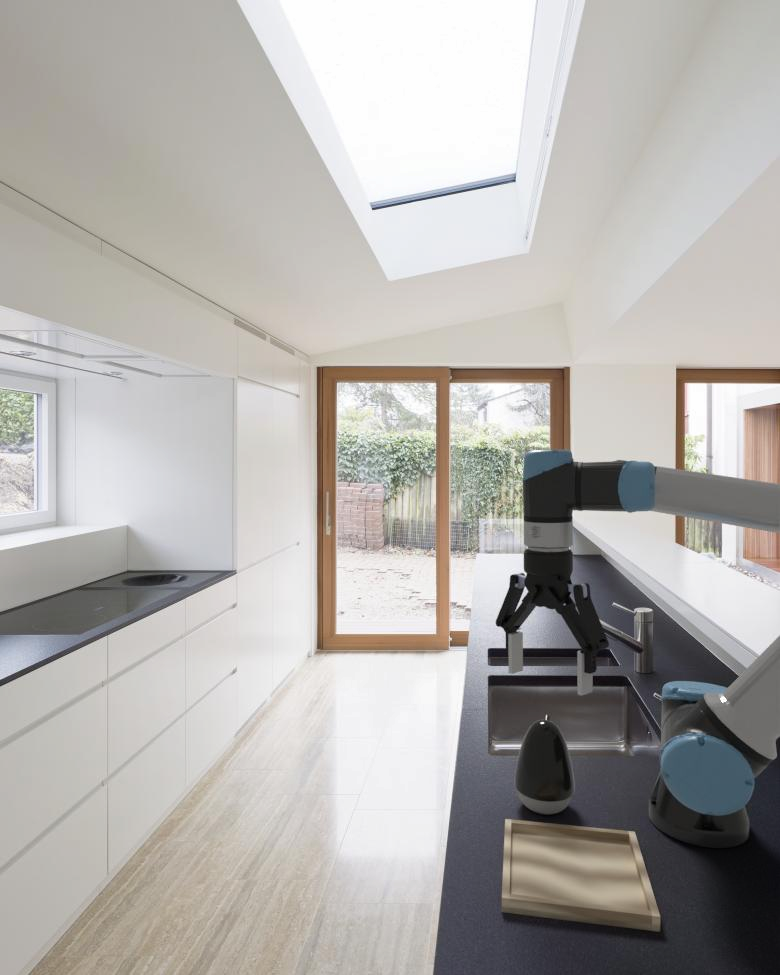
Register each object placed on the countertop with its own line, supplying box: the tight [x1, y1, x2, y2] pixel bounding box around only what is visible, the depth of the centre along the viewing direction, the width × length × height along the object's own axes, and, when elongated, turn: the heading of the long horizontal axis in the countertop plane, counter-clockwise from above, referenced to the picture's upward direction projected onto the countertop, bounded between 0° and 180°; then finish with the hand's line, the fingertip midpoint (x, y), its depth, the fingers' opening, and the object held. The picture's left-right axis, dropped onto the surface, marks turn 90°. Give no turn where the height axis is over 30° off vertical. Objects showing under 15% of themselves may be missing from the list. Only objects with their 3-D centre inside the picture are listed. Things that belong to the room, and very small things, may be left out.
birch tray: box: [501, 818, 661, 933], centre depth 98 cm, size 20×20×2 cm
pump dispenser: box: [513, 714, 576, 815], centre depth 117 cm, size 10×10×15 cm
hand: (548, 682), depth 107 cm, fingers open, 13 cm apart
